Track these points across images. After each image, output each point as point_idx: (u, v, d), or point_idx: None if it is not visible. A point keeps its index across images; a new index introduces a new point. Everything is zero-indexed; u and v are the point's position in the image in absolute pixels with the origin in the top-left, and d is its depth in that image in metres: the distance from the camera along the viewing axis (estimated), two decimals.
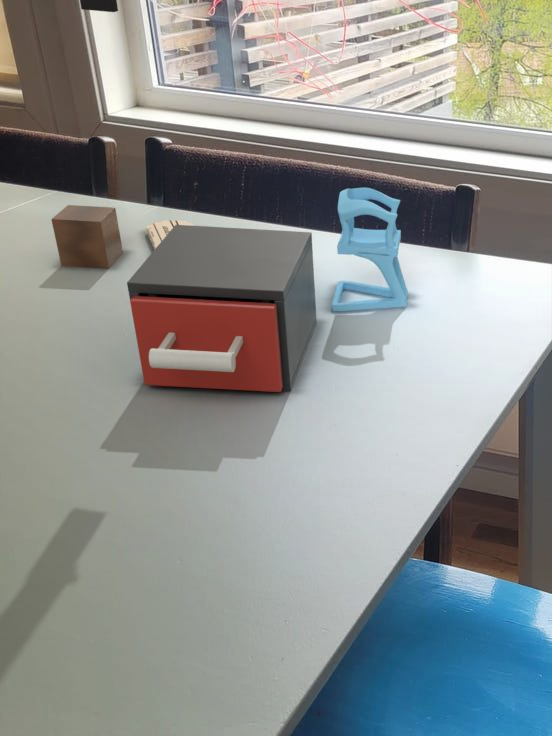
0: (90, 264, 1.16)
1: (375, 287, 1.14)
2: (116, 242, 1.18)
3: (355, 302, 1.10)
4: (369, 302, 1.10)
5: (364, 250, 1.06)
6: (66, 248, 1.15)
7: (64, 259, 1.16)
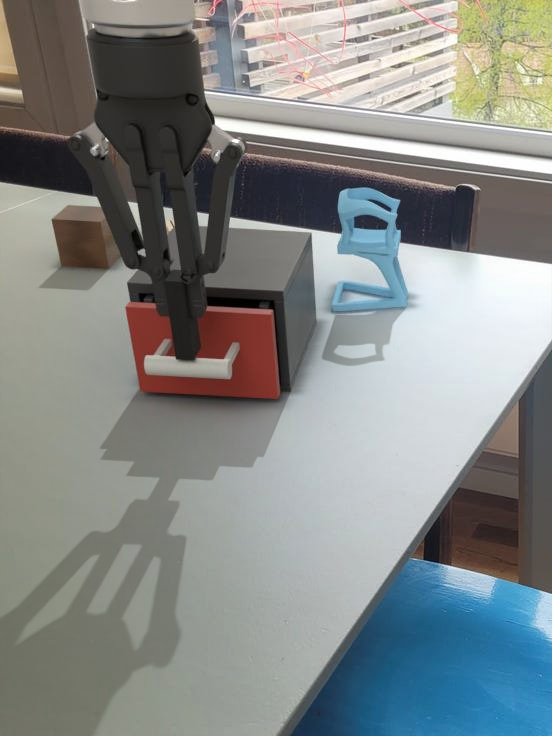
0: (90, 264, 1.16)
1: (375, 287, 1.14)
2: None
3: (355, 302, 1.10)
4: (369, 302, 1.10)
5: (364, 250, 1.06)
6: (66, 248, 1.15)
7: (64, 259, 1.16)
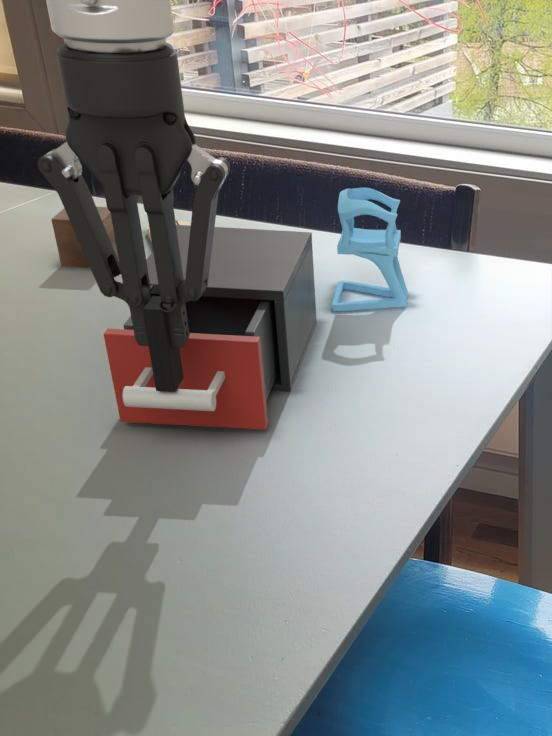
0: None
1: (375, 287, 1.14)
2: None
3: (355, 302, 1.10)
4: (369, 302, 1.10)
5: (364, 250, 1.06)
6: (66, 248, 1.15)
7: (64, 259, 1.16)
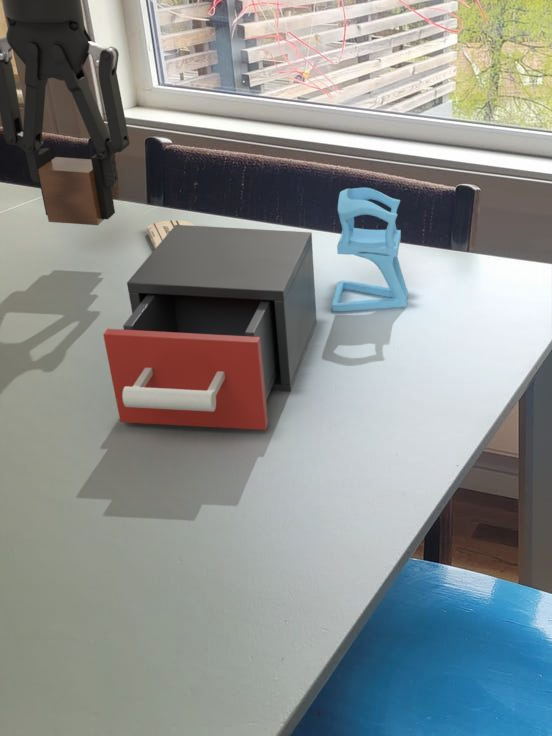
0: (78, 217, 1.13)
1: (375, 287, 1.14)
2: None
3: (355, 302, 1.10)
4: (369, 302, 1.10)
5: (364, 250, 1.06)
6: (53, 200, 1.12)
7: (51, 212, 1.12)
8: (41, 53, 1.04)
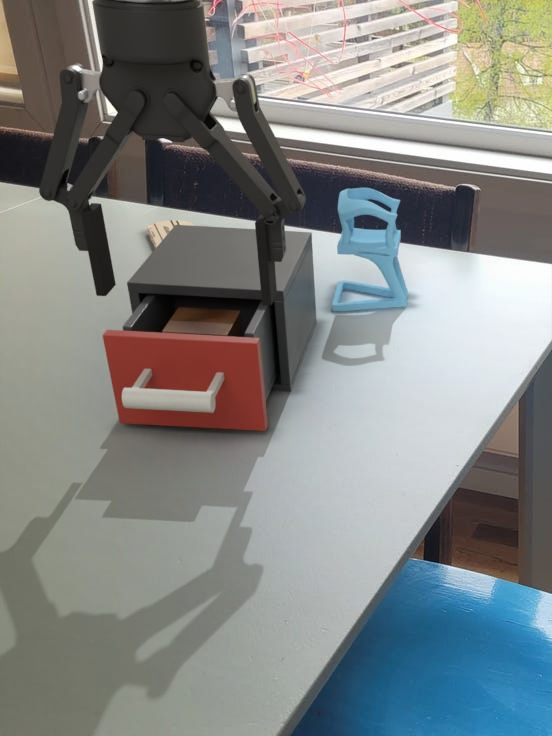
0: (204, 330, 0.85)
1: (375, 287, 1.14)
2: None
3: (355, 302, 1.10)
4: (369, 302, 1.10)
5: (364, 250, 1.06)
6: (180, 321, 0.87)
7: (172, 326, 0.86)
8: (148, 105, 0.73)
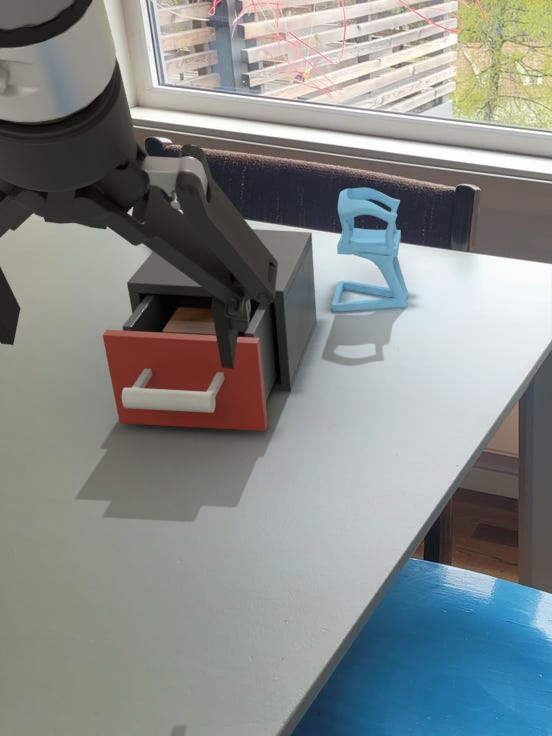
0: (204, 330, 0.85)
1: (375, 287, 1.14)
2: None
3: (355, 302, 1.10)
4: (369, 302, 1.10)
5: (364, 250, 1.06)
6: (180, 321, 0.87)
7: (172, 326, 0.86)
8: (50, 193, 0.50)
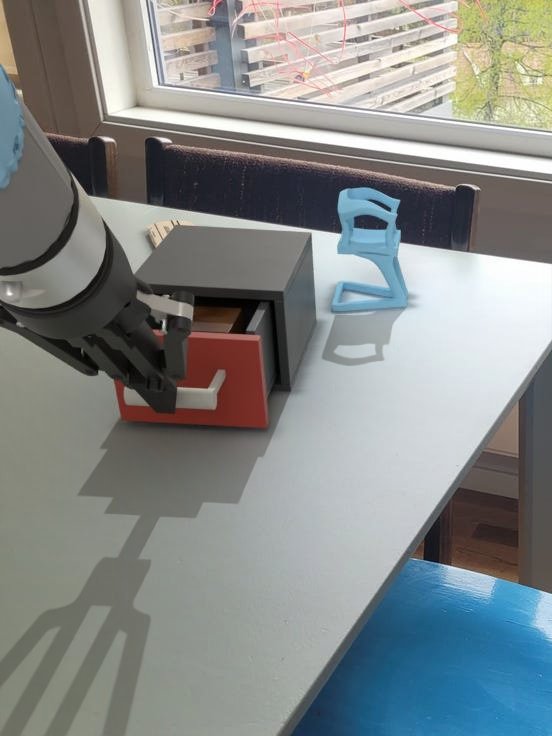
0: (206, 327, 0.86)
1: (375, 287, 1.14)
2: None
3: (355, 302, 1.10)
4: (369, 302, 1.10)
5: (364, 250, 1.06)
6: None
7: None
8: None
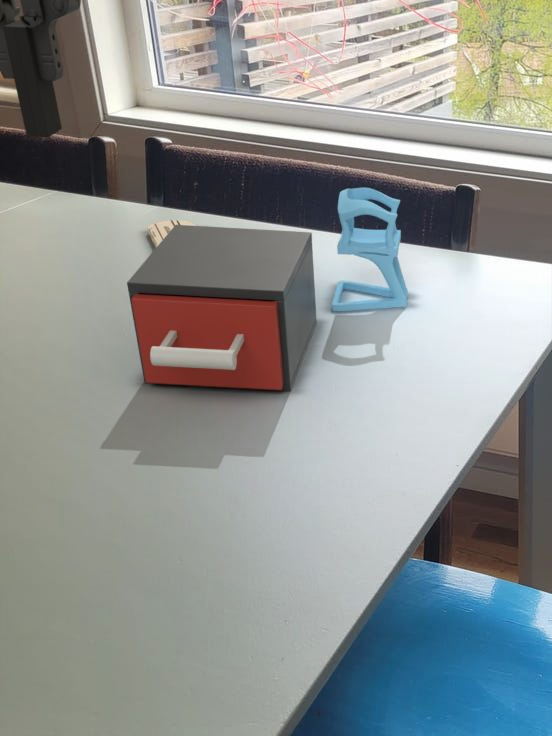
0: None
1: (375, 287, 1.14)
2: None
3: (355, 302, 1.10)
4: (369, 302, 1.10)
5: (364, 250, 1.06)
6: None
7: None
8: None
